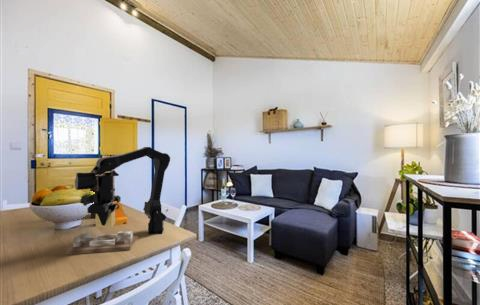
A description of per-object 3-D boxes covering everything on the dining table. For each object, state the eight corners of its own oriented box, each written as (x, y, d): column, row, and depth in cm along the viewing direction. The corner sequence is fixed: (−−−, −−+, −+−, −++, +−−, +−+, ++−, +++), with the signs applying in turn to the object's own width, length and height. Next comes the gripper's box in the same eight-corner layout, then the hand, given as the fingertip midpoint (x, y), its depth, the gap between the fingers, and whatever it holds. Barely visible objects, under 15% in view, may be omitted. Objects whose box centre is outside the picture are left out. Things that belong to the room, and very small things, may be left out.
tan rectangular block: (95, 228, 91) (95, 213, 91) (99, 224, 95) (99, 210, 95) (111, 227, 92) (111, 213, 92) (114, 224, 96) (114, 210, 96)
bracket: (105, 227, 114) (106, 204, 114) (103, 224, 120) (103, 202, 120) (128, 223, 122) (128, 201, 121) (124, 219, 127) (124, 199, 127)
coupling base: (137, 238, 102) (137, 226, 101) (130, 250, 90) (130, 236, 90) (82, 241, 97) (82, 229, 97) (66, 254, 85) (66, 240, 85)
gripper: (94, 183, 101) (94, 217, 101) (71, 192, 82) (72, 233, 83) (120, 183, 103) (120, 216, 103) (104, 191, 84) (104, 231, 85)
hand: (105, 223), depth 93 cm, fingers closed on tan rectangular block, 4 cm apart
